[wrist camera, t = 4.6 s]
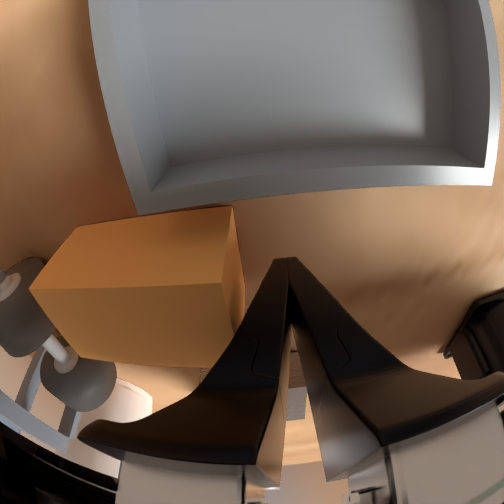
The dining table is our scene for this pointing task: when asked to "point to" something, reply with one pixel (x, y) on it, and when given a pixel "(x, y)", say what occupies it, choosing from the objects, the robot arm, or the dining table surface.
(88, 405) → the grey wheeled cart
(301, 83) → the tray
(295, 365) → the pin bracket
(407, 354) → the dining table surface
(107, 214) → the dining table surface
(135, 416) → the foam cup
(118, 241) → the block
